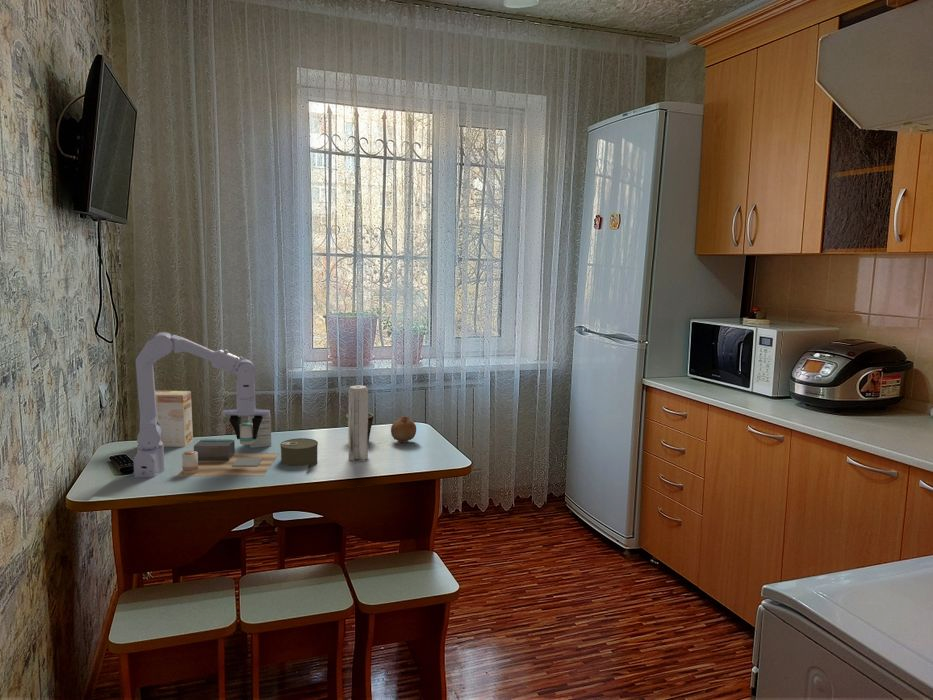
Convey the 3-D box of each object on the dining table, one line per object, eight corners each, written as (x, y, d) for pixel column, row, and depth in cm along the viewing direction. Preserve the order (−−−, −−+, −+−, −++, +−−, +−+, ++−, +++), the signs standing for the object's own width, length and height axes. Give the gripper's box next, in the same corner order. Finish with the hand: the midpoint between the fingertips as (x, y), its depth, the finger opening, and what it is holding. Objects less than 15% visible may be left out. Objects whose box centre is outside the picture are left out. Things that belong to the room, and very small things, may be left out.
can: (314, 469, 207) (313, 448, 206) (276, 469, 206) (276, 448, 205) (321, 457, 219) (320, 438, 218) (285, 457, 218) (285, 438, 217)
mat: (257, 466, 205) (257, 465, 205) (231, 466, 204) (231, 465, 204) (263, 458, 213) (263, 457, 213) (238, 458, 212) (238, 457, 212)
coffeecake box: (193, 443, 231) (191, 390, 228) (184, 449, 224) (182, 394, 221) (152, 442, 231) (150, 389, 229) (142, 448, 224) (139, 393, 222)
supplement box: (248, 444, 231) (247, 410, 230) (269, 443, 234) (268, 409, 232) (249, 450, 225) (249, 415, 223) (271, 448, 227) (271, 413, 226)
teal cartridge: (256, 440, 210) (255, 422, 209) (252, 444, 206) (251, 425, 205) (242, 440, 210) (241, 422, 209) (238, 444, 205) (237, 425, 204)
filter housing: (228, 460, 210) (228, 445, 209) (194, 460, 209) (193, 445, 208) (235, 453, 217) (234, 438, 217) (201, 453, 216) (201, 438, 216)
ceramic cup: (346, 438, 243) (346, 412, 241) (372, 437, 244) (372, 411, 243) (346, 448, 230) (346, 421, 229) (374, 447, 232) (374, 420, 230)
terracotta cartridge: (195, 474, 196) (194, 454, 196) (180, 474, 196) (179, 454, 195) (200, 469, 201) (199, 450, 200) (185, 469, 201) (184, 450, 200)
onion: (418, 445, 235) (418, 418, 234) (392, 446, 233) (393, 420, 231) (413, 438, 244) (413, 412, 243) (388, 439, 242) (389, 413, 240)
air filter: (371, 457, 220) (371, 386, 216) (359, 462, 214) (359, 389, 211) (357, 454, 223) (357, 383, 219) (344, 459, 217) (344, 386, 214)
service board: (263, 478, 197) (263, 475, 196) (175, 479, 194) (175, 476, 194) (279, 455, 219) (279, 453, 219) (200, 456, 217) (200, 453, 217)
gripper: (271, 394, 210) (272, 435, 212) (226, 394, 209) (227, 435, 211) (266, 399, 203) (267, 441, 205) (219, 399, 202) (221, 441, 204)
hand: (247, 438), depth 207 cm, fingers closed on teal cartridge, 4 cm apart
